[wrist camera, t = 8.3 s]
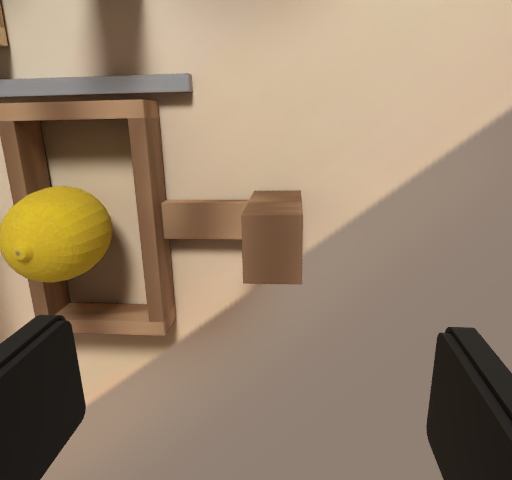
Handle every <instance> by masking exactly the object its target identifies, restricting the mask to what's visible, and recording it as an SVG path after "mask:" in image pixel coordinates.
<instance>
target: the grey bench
mask: <svg viewBox="0 0 512 480" xmlns="http://www.w3.org/2000/svg"><path fill="white" fill-rule="evenodd" d="M174 92H192V76H191V74H188V73H185V74H155V75H125V76H95V77H65V78H35V79H4V80H0V98H1V97H35V96H70V95H105V94H140V93H174Z"/></svg>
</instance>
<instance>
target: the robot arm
mask: <svg viewBox="0 0 512 480" xmlns="http://www.w3.org/2000/svg"><path fill="white" fill-rule="evenodd" d="M85 409H86V406H85V400H84V394H83V388H82V382H81V376H80V370H79V365H78V359H77V353H76V347H75V341H74V336H73V330H72V325H71V323H70V322H69V321H66V319H65V317H64V316H62V315H38V316H36V317H35V318H34V319H32V320H31V321H30V322H28V323H27V324H26V325H24V326H23V327H22V328H21V329H19V330H18V331H17V332H15V333H14V334H13V335H11V336H10V337H9V338H7V339H6V340H5V341H4V342H2V343H1V344H0V480H40V479H41V478H42V476H43V475H44V474H45V472H46V471H47V469H48V468H49V466H50V465H51V464H52V462H53V461H54V460H55V458H56V457H57V455H58V454H59V452H60V451H61V450H62V448H63V447H64V445H65V444H66V443H67V441H68V440H69V438H70V437H71V436H72V434H73V433H74V431H75V430H76V428H77V427H78V426H79V424H80V423H81V422H82V420H83V418H84V415H85ZM427 436H428V440H429V443H430V446H431V448H432V451H433V454H434V456H435V459H436V461H437V464H438V466H439V469H440V471H441V474H442V477H443V479H444V480H512V373H511V372H510V371H509V370H508V368H507V367H506V366H505V365H504V363H503V362H502V361H501V360H500V358H499V357H498V356H497V355H496V354H495V352H494V351H493V350H492V349H491V348H490V346H489V345H488V344H487V343H486V341H485V340H484V339H483V338H482V336H481V335H480V334H479V333H478V332H477V330H476V329H475V328H463V327H448V328H447V329H446V331H445V333H439V334H438V337H437V343H436V352H435V360H434V368H433V377H432V386H431V393H430V401H429V410H428V418H427Z"/></svg>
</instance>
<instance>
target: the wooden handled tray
mask: <svg viewBox="0 0 512 480" xmlns="http://www.w3.org/2000/svg"><path fill="white" fill-rule="evenodd" d="M88 119H128V127H129V136H130V146H131V155H132V165H133V174H134V184H135V193H136V203H137V212H138V221H139V231H140V240H141V250H142V259H143V269H144V278H145V288H146V297H147V304H102V303H70V302H69V296H68V290H67V284H66V280H64V281H58V282H38V281H34V280H31V279H28V282H29V287H30V292H31V297H32V302H33V308H34V313H35V317H36V316H38V315H62V316H64V317H65V319H66V321H69V322H70V323H71V325H72V330H73V333H92V334H128V335H163V336H165V335H166V333H167V331H168V330H169V328H170V326H171V325H172V323H173V321H174V320H175V318H176V314H175V302H174V290H173V278H172V267H171V255H170V243H169V239H242V260H243V283H249V284H302V231H303V213H302V200H301V191H254V193H253V195H252V196H251V198H250V200H166V196H165V184H164V173H163V161H162V149H161V137H160V125H159V114H158V102H157V101H151V100H143V99H140V100H103V101H67V102H30V103H0V136H1V142H2V147H3V152H4V157H5V162H6V168H7V173H8V178H9V183H10V188H11V193H12V199H13V204H14V205H15V204H16V203H18V202H19V201H20V200H22V199H23V198H24V197H26V196H27V195H29V194H31V193H34V192H36V191H39V190H42V189H45V188H49V187H50V181H49V175H48V169H47V162H46V156H45V150H44V144H43V138H42V132H41V126H40V121H44V120H88Z"/></svg>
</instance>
